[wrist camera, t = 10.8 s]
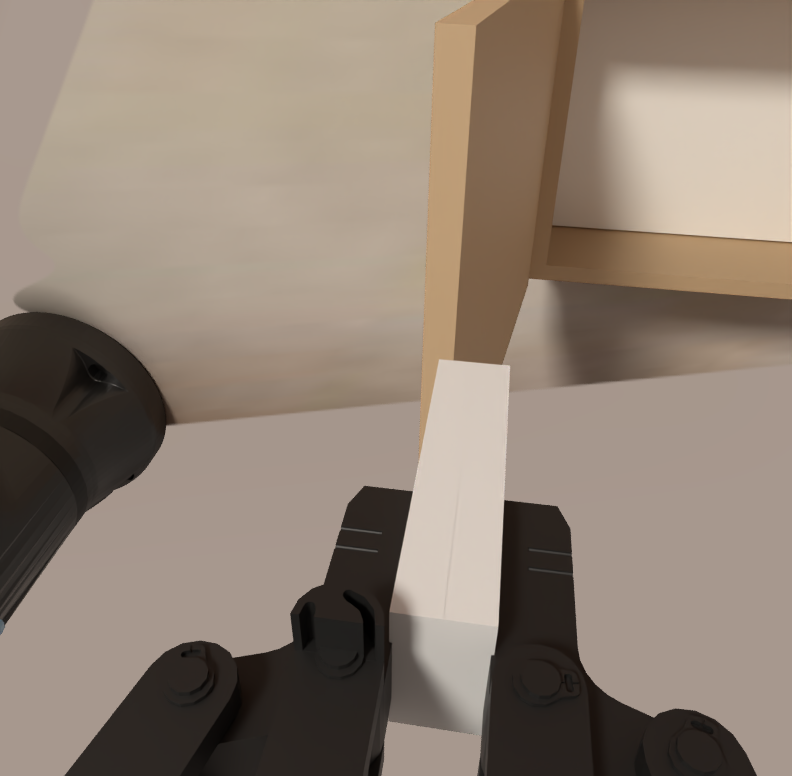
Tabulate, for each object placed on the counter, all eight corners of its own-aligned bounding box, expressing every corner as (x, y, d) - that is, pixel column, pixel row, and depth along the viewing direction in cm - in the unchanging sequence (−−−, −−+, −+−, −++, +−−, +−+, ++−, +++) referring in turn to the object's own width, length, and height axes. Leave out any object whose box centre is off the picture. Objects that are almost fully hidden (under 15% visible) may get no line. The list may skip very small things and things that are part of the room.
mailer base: (529, 233, 42) (528, 278, 37) (564, -47, 34) (569, -37, 29) (858, 256, 39) (903, 308, 35) (980, -37, 31) (1061, -24, 26)
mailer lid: (527, 285, 37) (510, 282, 37) (570, -45, 28) (548, -46, 29) (440, 553, 22) (412, 547, 22) (476, 24, 13) (430, 23, 14)
